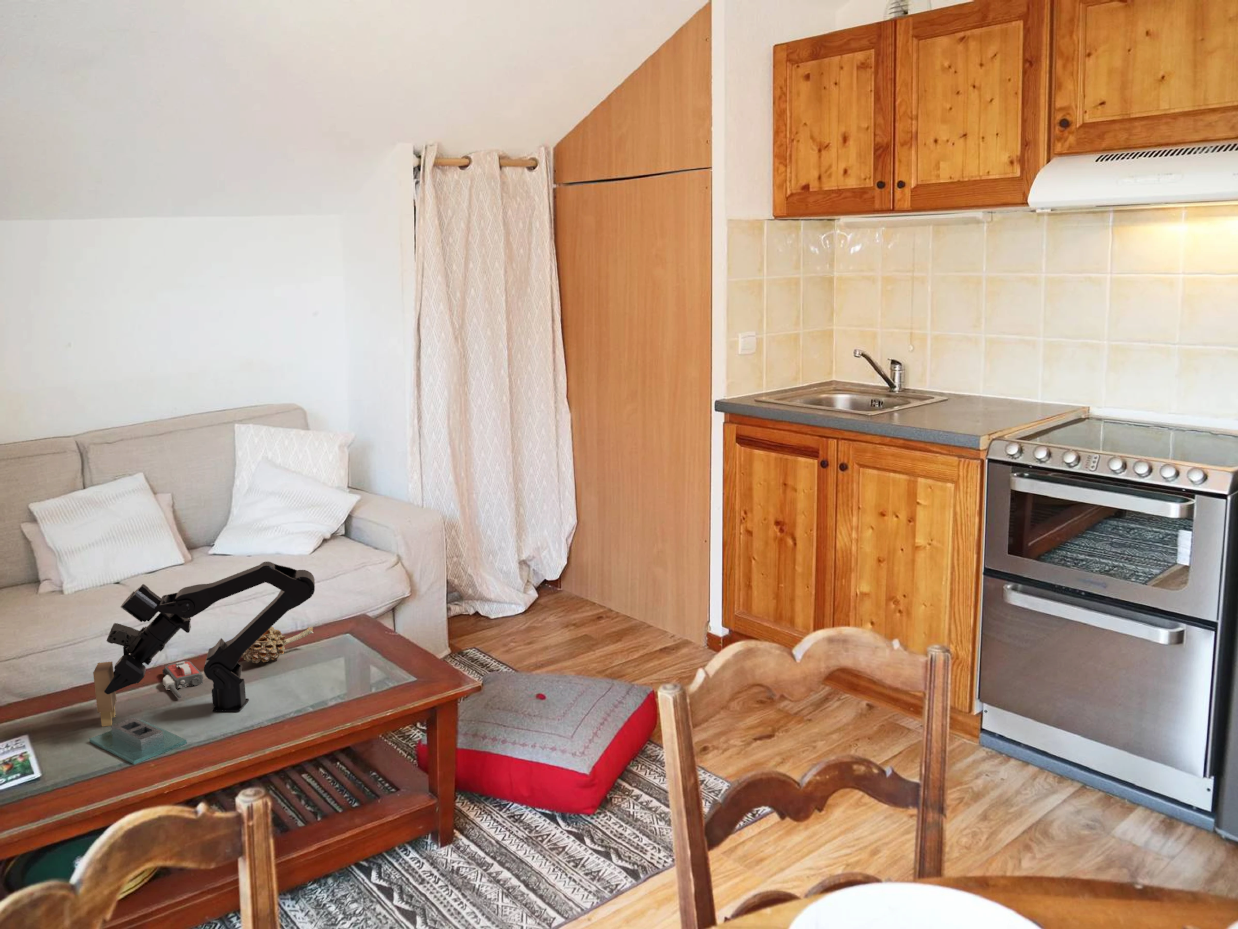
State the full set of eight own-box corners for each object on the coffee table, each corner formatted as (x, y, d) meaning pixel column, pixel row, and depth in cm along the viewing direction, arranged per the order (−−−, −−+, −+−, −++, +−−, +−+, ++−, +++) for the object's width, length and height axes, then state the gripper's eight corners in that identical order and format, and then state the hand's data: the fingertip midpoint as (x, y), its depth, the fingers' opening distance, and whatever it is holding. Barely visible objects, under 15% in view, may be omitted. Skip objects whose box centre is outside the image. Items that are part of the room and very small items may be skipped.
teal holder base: (89, 742, 234) (88, 728, 233) (141, 722, 243) (140, 709, 242) (134, 764, 223) (132, 749, 222) (186, 743, 232) (185, 729, 232)
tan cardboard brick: (103, 716, 247) (97, 663, 244) (118, 714, 247) (112, 661, 245) (99, 727, 241) (93, 672, 238) (113, 725, 242) (107, 671, 239)
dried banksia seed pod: (249, 674, 270) (246, 637, 268) (228, 666, 276) (225, 629, 274) (323, 650, 287) (321, 614, 285) (302, 642, 293) (300, 607, 291)
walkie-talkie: (154, 677, 270) (175, 703, 254) (152, 660, 269) (173, 686, 254) (190, 669, 275) (213, 694, 259) (189, 653, 274) (211, 677, 259)
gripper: (134, 599, 250) (86, 649, 249) (121, 625, 232) (70, 679, 231) (173, 628, 254) (126, 678, 253) (164, 656, 236) (114, 709, 235)
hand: (109, 685), depth 243 cm, fingers open, 9 cm apart
